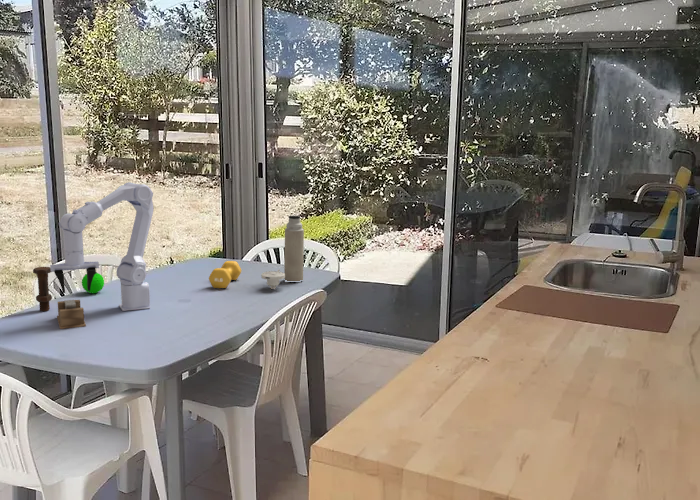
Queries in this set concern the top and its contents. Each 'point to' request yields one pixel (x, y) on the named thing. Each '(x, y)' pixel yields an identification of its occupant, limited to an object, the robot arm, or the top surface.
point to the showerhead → (273, 278)
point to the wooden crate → (70, 316)
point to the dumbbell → (225, 274)
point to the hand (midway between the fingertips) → (76, 291)
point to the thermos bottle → (294, 249)
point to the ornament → (94, 283)
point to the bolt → (43, 287)
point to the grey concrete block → (69, 304)
